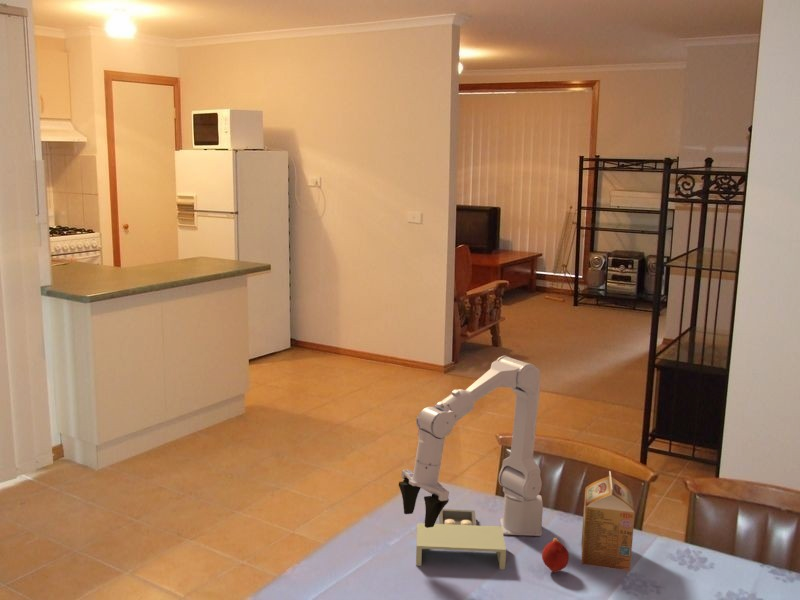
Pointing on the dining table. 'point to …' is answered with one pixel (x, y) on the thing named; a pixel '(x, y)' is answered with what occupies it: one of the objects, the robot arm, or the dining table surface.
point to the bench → (461, 539)
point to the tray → (457, 517)
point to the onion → (555, 556)
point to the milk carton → (607, 525)
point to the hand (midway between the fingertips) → (418, 520)
